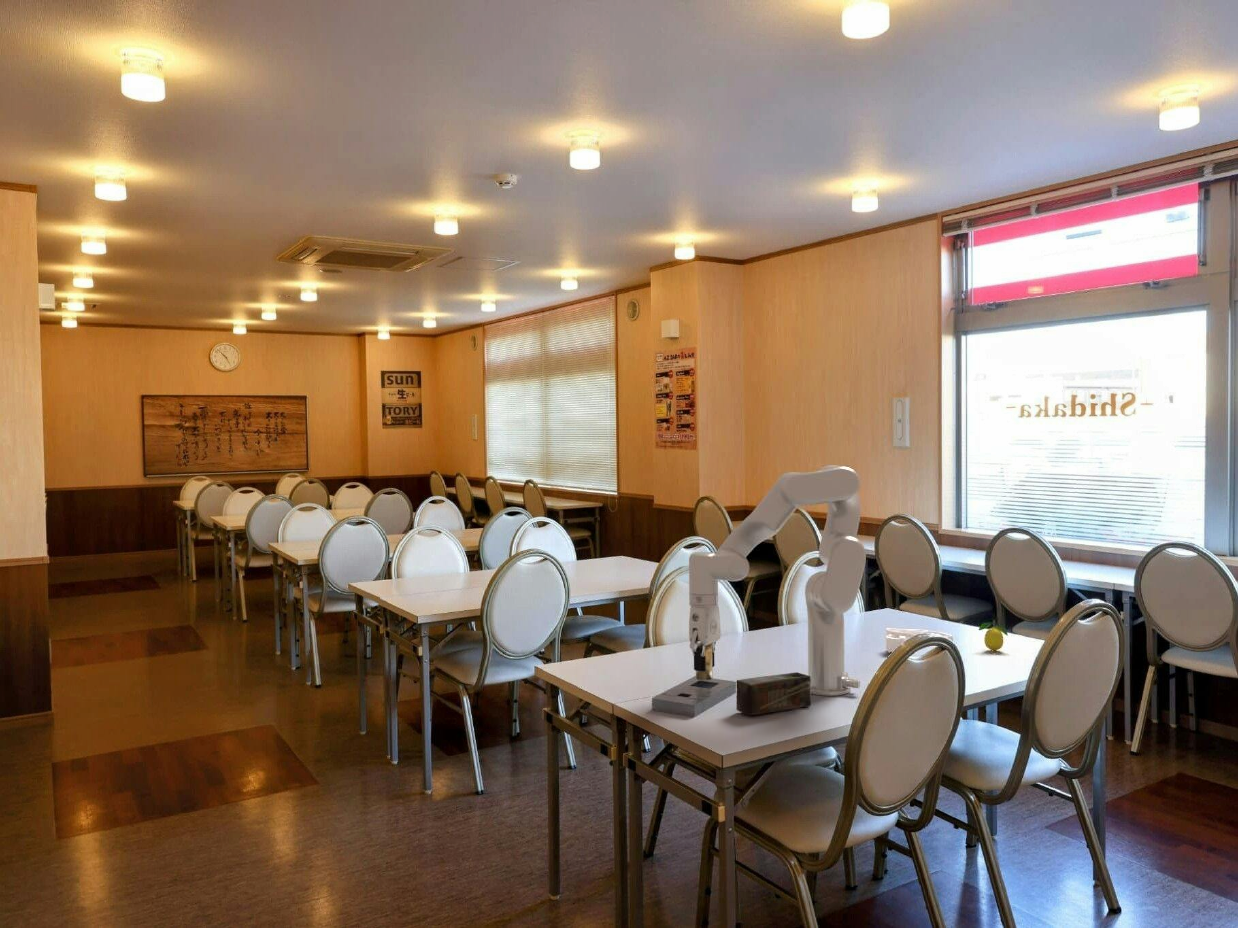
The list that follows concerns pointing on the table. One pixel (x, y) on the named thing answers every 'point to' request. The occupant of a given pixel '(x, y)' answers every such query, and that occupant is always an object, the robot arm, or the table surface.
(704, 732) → the table surface
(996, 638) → the lemon
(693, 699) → the block
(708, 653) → the cylinder
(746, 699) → the beverage carton
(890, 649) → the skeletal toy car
